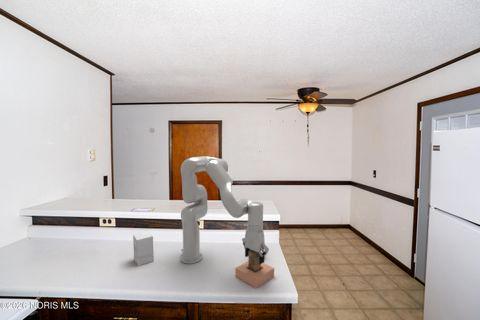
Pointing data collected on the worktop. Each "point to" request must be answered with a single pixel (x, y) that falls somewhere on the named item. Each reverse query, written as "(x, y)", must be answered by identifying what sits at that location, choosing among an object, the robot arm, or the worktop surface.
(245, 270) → the well block
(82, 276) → the worktop surface
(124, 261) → the worktop surface
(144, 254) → the supplement box
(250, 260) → the walnut post
